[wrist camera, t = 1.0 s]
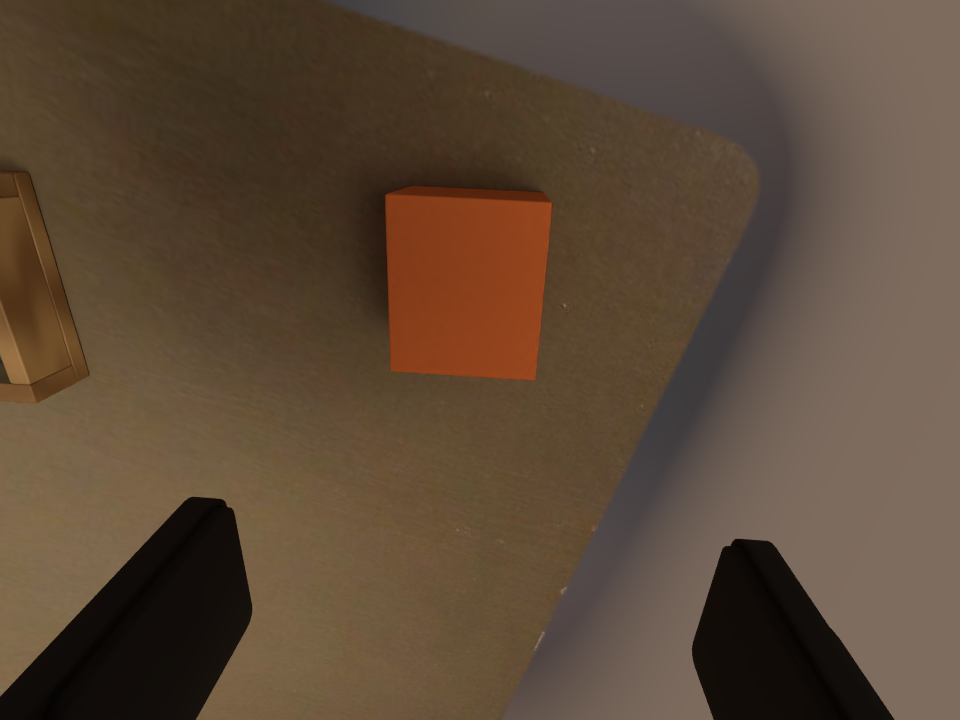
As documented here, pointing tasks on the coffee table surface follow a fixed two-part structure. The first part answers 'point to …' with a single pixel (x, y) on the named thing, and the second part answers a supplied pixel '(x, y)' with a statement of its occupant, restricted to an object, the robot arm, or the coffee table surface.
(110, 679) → the robot arm
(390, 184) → the coffee table surface
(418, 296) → the orange block
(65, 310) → the holder
